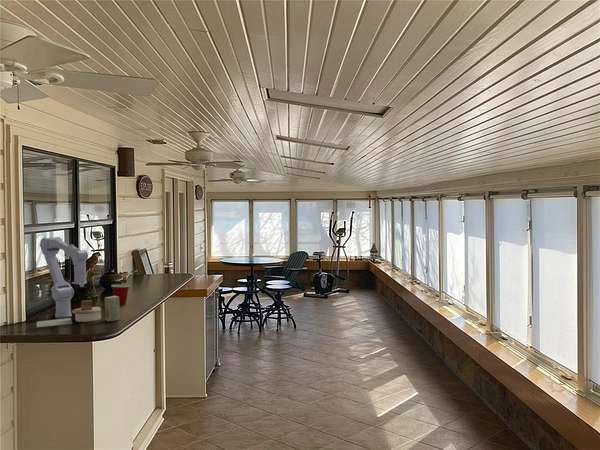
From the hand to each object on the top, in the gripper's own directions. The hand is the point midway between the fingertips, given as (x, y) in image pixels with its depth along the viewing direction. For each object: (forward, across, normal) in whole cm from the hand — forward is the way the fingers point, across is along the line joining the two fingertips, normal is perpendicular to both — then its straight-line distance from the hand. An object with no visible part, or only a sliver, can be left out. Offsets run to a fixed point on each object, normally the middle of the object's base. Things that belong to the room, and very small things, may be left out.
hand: (80, 299), depth 276 cm
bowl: (+10, +5, +3) cm, 12 cm away
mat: (+10, +4, -13) cm, 17 cm away
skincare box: (+11, +13, +14) cm, 22 cm away
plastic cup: (+10, -34, +26) cm, 44 cm away
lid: (+6, +5, +2) cm, 8 cm away
